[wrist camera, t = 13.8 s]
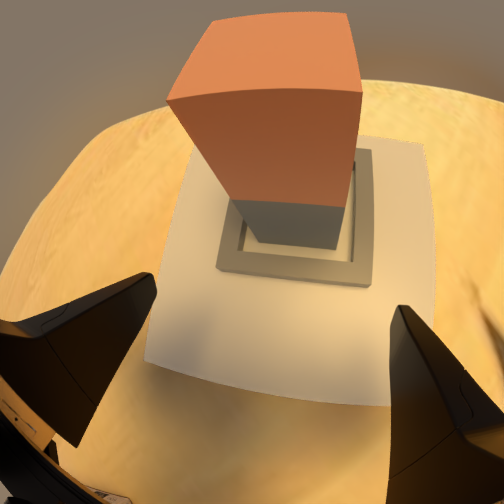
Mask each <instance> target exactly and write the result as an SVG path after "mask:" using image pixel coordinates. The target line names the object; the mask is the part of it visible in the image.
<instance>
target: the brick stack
mask: <svg viewBox="0 0 504 504" xmlns="http://www.w3.org/2000/svg"><path fill="white" fill-rule="evenodd" d="M362 94H363V91H362V85H361V78H360V73H359V67H358V63H357V57H356V52H355V47H354V43H353V39H352V34H351V30H350V26H349V22H348V19H347V15H346V13H332V12H286V13H285V12H284V13H269V14H258V15H249V16H242V17H235V18H229V19H223V20H217V21H213V22H212V23H211V25H210V26H209V28H208V29H207V31H206V32H205V34H204V35H203V37H202V38H201V40H200V41H199V43H198V44H197V46H196V47H195V49H194V51H193V52H192V54H191V56H190V57H189V59H188V61H187V62H186V64H185V66H184V67H183V69H182V71H181V73H180V75H179V77H178V78H177V80H176V82H175V84H174V85H173V87H172V89H171V91H170V93H169V95H168V97H167V99H166V102H167V103H168V105H169V106H170V108H171V109H172V111H173V112H174V114H175V115H176V117H177V118H178V120H179V121H180V123H181V124H182V126H183V127H184V129H185V130H186V132H187V133H188V135H189V136H190V138H191V139H192V141H193V142H194V144H195V145H196V147H197V148H198V150H199V151H200V153H201V154H202V156H203V157H204V159H205V160H206V162H207V164H208V165H209V167H210V168H211V170H212V171H213V173H214V174H215V176H216V177H217V179H218V180H219V182H220V183H221V185H222V186H223V188H224V189H225V191H226V193H227V194H228V196H229V197H230V199H231V200H232V202H233V203H234V205H235V206H236V208H237V209H238V211H239V213H240V214H241V216H242V217H243V219H244V220H245V222H246V223H247V225H248V226H249V228H250V230H251V231H252V233H253V234H254V236H255V237H256V239H257V240H258V242H259V243H267V244H278V245H288V246H299V247H309V248H319V249H329V250H336V248H337V244H338V240H339V235H340V231H341V226H342V222H343V217H344V212H345V207H346V202H347V197H348V192H349V186H350V181H351V175H352V169H353V163H354V157H355V150H356V144H357V137H358V129H359V121H360V113H361V104H362Z"/></svg>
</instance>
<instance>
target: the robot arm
mask: <svg viewBox="0 0 504 504" xmlns="http://www.w3.org/2000/svg"><path fill="white" fill-rule="evenodd" d="M156 296H157V287H156V283H155V280H154V276H153V275H152V274H151V273H147V272H141V273H139V274H136V275H134V276H131V277H129V278H126V279H124V280H122V281H119V282H117V283H114V284H112V285H109V286H107V287H105V288H102V289H100V290H97V291H95V292H93V293H90V294H88V295H85V296H83V297H81V298H78V299H76V300H74V301H71V302H70V303H66V304H64V305H62V306H59V307H57V308H54V309H52V310H49V311H47V312H44V313H41V314H39V315H36V316H33V317H30V318H28V319H25V320H22V321H18V322H8V321H4V320H1V319H0V481H1V482H2V483H3V485H4V486H5V487H6V488H7V489H8V491H9V492H10V493H11V494H12V495H13V497H7V499H6V501H5V502H4V504H111V503H109V502H108V501H106V500H104V499H103V498H101V497H100V496H98V495H97V494H95V493H94V492H93V491H91V490H90V489H88V488H87V487H85V486H84V485H83V484H81V483H80V482H79V481H77V480H76V479H75V478H73V477H72V476H71V475H70V474H68V473H67V472H66V471H65V470H64V469H62V468H61V467H60V466H59V461H58V454H57V447H56V442H54V441H53V440H52V438H53V436H54V435H55V433H57V434H59V435H60V436H61V437H62V438H63V439H65V440H66V441H67V442H69V443H70V444H71V445H72V446H74V447H75V448H77V447H78V446H79V444H80V442H81V439H82V437H83V435H84V433H85V431H86V429H87V427H88V425H89V423H90V421H91V419H92V417H93V415H94V413H95V411H96V409H97V407H98V405H99V403H100V401H101V399H102V397H103V396H104V394H105V392H106V390H107V388H108V386H109V384H110V382H111V381H112V379H113V377H114V375H115V373H116V371H117V370H118V368H119V366H120V364H121V363H122V361H123V359H124V357H125V355H126V354H127V352H128V350H129V348H130V347H131V345H132V343H133V342H134V340H135V338H136V336H137V335H138V333H139V331H140V330H141V328H142V326H143V324H144V322H145V320H146V318H147V316H148V313H149V311H150V309H151V307H152V305H153V303H154V301H155V299H156ZM389 376H390V396H391V449H390V467H389V480H388V488H387V497H386V504H504V413H503V412H502V411H501V410H500V408H499V407H498V406H497V405H496V404H495V403H494V402H493V401H492V400H491V399H490V397H489V396H488V395H487V394H486V393H485V392H484V391H483V390H482V389H481V387H480V386H479V385H478V384H477V383H476V381H475V380H474V379H473V378H472V377H471V375H470V374H469V373H468V372H467V370H464V367H463V366H462V364H461V363H460V362H459V361H458V360H457V358H456V357H455V356H454V355H453V354H452V352H451V351H450V350H449V349H448V348H447V347H446V345H445V344H444V343H443V342H442V341H441V340H440V339H439V337H438V336H437V335H436V334H435V333H434V332H433V331H432V330H431V328H430V327H429V326H428V325H427V324H426V323H425V322H424V321H423V320H422V319H421V318H420V316H419V315H418V314H417V313H416V312H415V311H414V310H413V309H412V308H411V307H410V306H409V305H401V304H399V305H397V307H396V309H395V312H394V315H393V318H392V321H391V324H390V352H389Z"/></svg>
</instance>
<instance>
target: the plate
mask: <svg viewBox="0 0 504 504" xmlns="http://www.w3.org/2000/svg"><path fill="white" fill-rule="evenodd" d="M156 287H157V296H156V299H155V301H154V303H153V305H152V310H151V315H150V321H149V327H148V333H147V339H146V346H145V352H144V359H143V361H146V362H149V363H152V364H155V365H157V366H160V367H163V368H166V369H170V370H173V371H176V372H179V373H182V374H186V375H189V376H192V377H196V378H199V379H203V380H207V381H211V382H214V383H218V384H222V385H226V386H231V387H235V388H239V389H244V390H249V391H254V392H259V393H264V394H269V395H275V396H281V397H287V398H293V399H300V400H308V401H316V402H325V403H336V404H348V405H365V406H391V396H390V376H389V352H390V324H391V321H392V318H393V315H394V312H395V309H396V307H397V305H399V304H401V305H409V306H410V307H411V308H412V309H413V310H414V311H415V312H416V313H417V314H418V315H419V316H420V318H421V319H422V320H423V321H424V322H425V323H426V324H427V325H428V326H429V327H430V328H431V330H432V331H433V321H434V309H435V291H436V244H435V226H434V214H433V204H432V195H431V187H430V180H429V174H428V168H427V162H426V157H425V152H424V147H423V144H418V143H413V142H407V141H401V140H395V139H388V138H381V137H373V136H364V135H358V137H357V144H356V150H355V157H354V163H353V169H352V175H351V181H350V186H349V192H348V197H347V202H346V207H345V212H344V217H343V222H342V226H341V231H340V235H339V240H338V244H337V248H336V250H329V249H319V248H309V247H299V246H288V245H278V244H267V243H259V242H258V240H257V239H256V237H255V236H254V234H253V233H252V231H251V230H250V228H249V226H248V225H247V223H246V222H245V220H244V219H243V217H242V216H241V214H240V213H239V211H238V209H237V208H236V206H235V205H234V203H233V202H232V200H231V199H230V197H229V196H228V194H227V193H226V191H225V189H224V188H223V186H222V185H221V183H220V182H219V180H218V179H217V177H216V176H215V174H214V173H213V171H212V170H211V168H210V167H209V165H208V164H207V162H206V160H205V159H204V157H203V156H202V154H201V153H200V151H199V150H198V148H197V147H196V145H195V144H194V147H193V150H192V153H191V156H190V159H189V162H188V165H187V169H186V172H185V175H184V178H183V182H182V185H181V188H180V192H179V195H178V199H177V202H176V206H175V209H174V213H173V217H172V220H171V224H170V228H169V232H168V236H167V240H166V244H165V248H164V252H163V257H162V261H161V265H160V270H159V275H158V279H157V284H156Z"/></svg>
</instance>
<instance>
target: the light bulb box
mask: <svg viewBox="0 0 504 504" xmlns="http://www.w3.org/2000/svg"><path fill="white" fill-rule="evenodd" d="M85 487H87V486H85ZM87 488H88V489H90V490H91V491H93V492H94V493H95V494H97V495H98V496H100V497H101V498H103V499H104V500H106V501H108V502H109V503H111V504H132V503H131V501H130V500H129V499H128V498H124V497H120V496H116V495H112V494H109V493H105V492H102V491H99V490H96V489H93V488H90V487H87ZM5 501H6V499H5Z"/></svg>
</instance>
